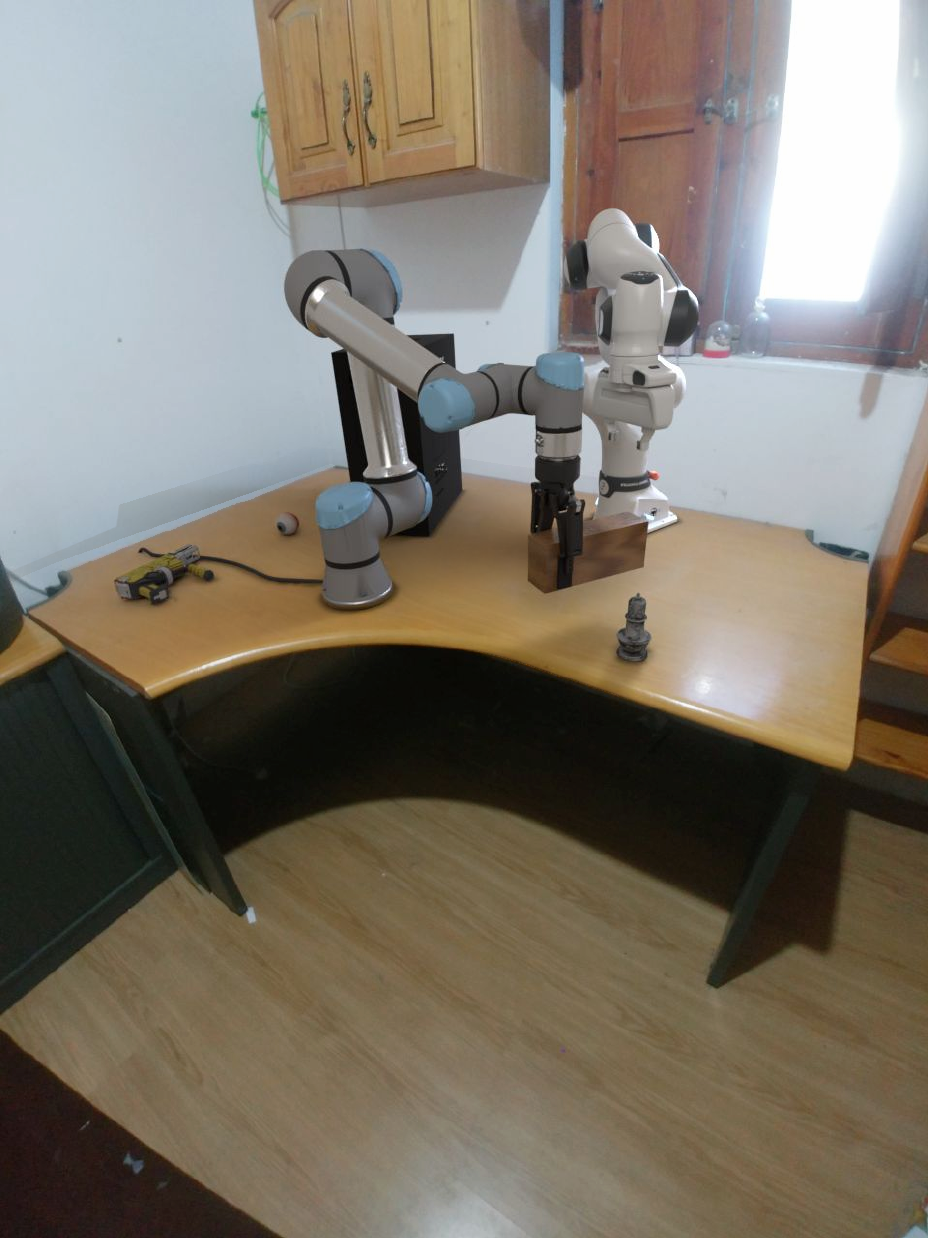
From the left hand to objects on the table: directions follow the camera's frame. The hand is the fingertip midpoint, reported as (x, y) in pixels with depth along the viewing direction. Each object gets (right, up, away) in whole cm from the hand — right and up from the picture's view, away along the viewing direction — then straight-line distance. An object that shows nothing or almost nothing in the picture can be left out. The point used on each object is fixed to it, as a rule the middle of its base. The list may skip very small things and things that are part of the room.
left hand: (554, 580), depth 111 cm
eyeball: (-65, +16, +54) cm, 86 cm away
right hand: (+16, +28, +9) cm, 33 cm away
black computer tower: (-31, +25, +66) cm, 77 cm away
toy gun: (-84, +1, +31) cm, 89 cm away
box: (+6, +1, +3) cm, 7 cm away
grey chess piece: (+13, -13, -4) cm, 19 cm away
